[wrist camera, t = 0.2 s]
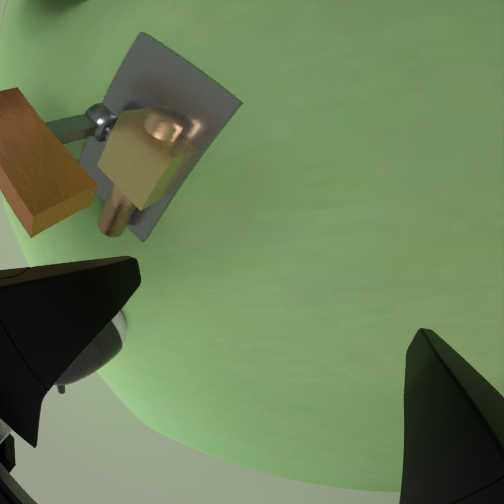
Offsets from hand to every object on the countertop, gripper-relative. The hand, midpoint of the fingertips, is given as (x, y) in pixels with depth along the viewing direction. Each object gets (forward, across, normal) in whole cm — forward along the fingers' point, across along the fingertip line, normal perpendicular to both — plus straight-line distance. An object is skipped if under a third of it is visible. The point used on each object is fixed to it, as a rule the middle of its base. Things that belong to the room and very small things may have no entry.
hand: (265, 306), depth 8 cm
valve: (+14, -16, +2) cm, 22 cm away
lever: (+13, -18, +4) cm, 23 cm away
